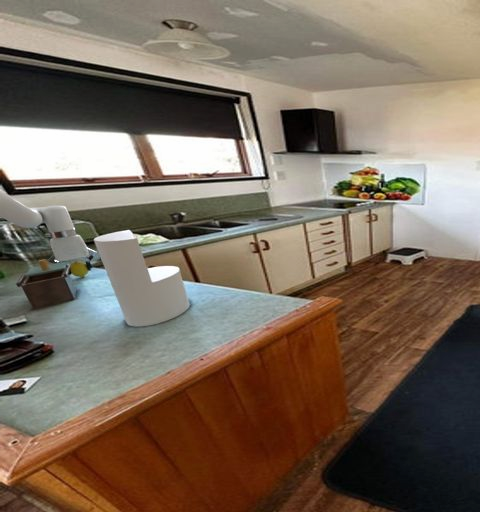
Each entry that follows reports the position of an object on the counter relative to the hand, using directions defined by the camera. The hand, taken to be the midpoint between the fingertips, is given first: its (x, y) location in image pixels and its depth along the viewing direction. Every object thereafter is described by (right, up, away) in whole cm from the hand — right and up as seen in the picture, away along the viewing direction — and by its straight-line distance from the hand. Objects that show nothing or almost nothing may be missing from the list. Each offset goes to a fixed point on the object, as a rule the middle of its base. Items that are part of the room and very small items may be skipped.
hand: (80, 271), depth 125 cm
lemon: (0, -3, +1) cm, 3 cm away
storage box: (+14, -10, -20) cm, 26 cm away
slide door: (+6, +2, -17) cm, 18 cm away
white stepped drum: (+63, -12, -32) cm, 72 cm away
